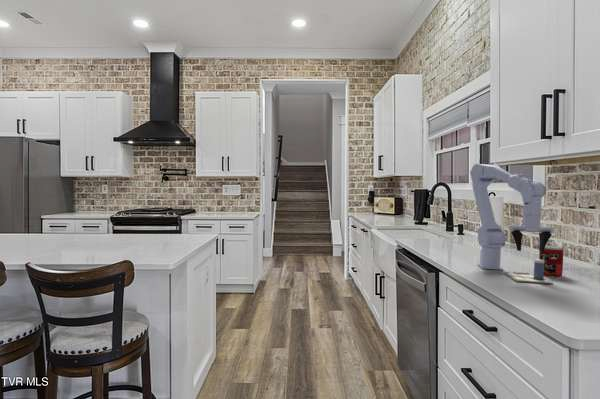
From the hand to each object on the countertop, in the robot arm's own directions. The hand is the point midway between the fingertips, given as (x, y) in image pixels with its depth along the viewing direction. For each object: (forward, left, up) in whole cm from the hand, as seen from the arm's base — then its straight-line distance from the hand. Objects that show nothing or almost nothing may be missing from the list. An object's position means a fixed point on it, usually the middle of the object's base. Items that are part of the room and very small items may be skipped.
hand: (530, 251), depth 147 cm
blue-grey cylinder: (+4, +2, -10) cm, 10 cm away
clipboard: (+2, -1, -10) cm, 10 cm away
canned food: (-9, +11, -10) cm, 18 cm away
